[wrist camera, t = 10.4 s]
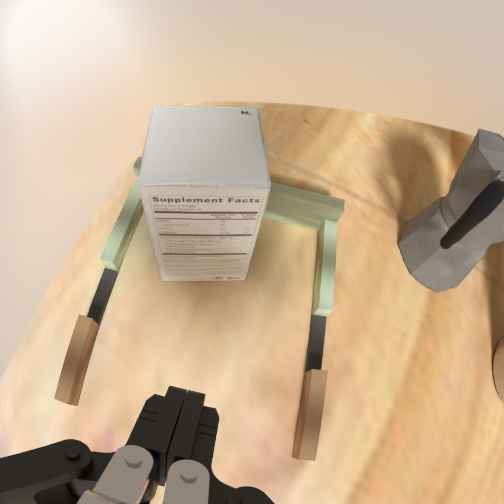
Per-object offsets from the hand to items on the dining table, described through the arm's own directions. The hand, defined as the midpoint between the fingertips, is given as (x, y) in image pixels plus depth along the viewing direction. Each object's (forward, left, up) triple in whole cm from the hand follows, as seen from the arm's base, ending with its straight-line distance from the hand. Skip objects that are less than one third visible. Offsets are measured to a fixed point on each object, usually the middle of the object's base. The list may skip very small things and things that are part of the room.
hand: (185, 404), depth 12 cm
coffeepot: (-27, -1, -12) cm, 30 cm away
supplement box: (-7, -12, -12) cm, 18 cm away
